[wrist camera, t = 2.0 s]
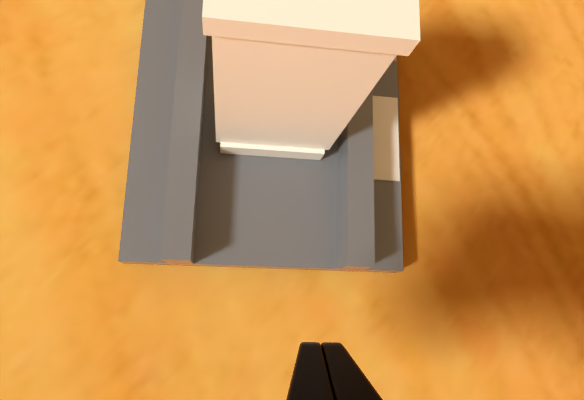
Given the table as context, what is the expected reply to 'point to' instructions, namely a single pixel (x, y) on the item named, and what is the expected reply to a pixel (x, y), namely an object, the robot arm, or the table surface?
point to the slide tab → (299, 68)
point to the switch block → (251, 173)
